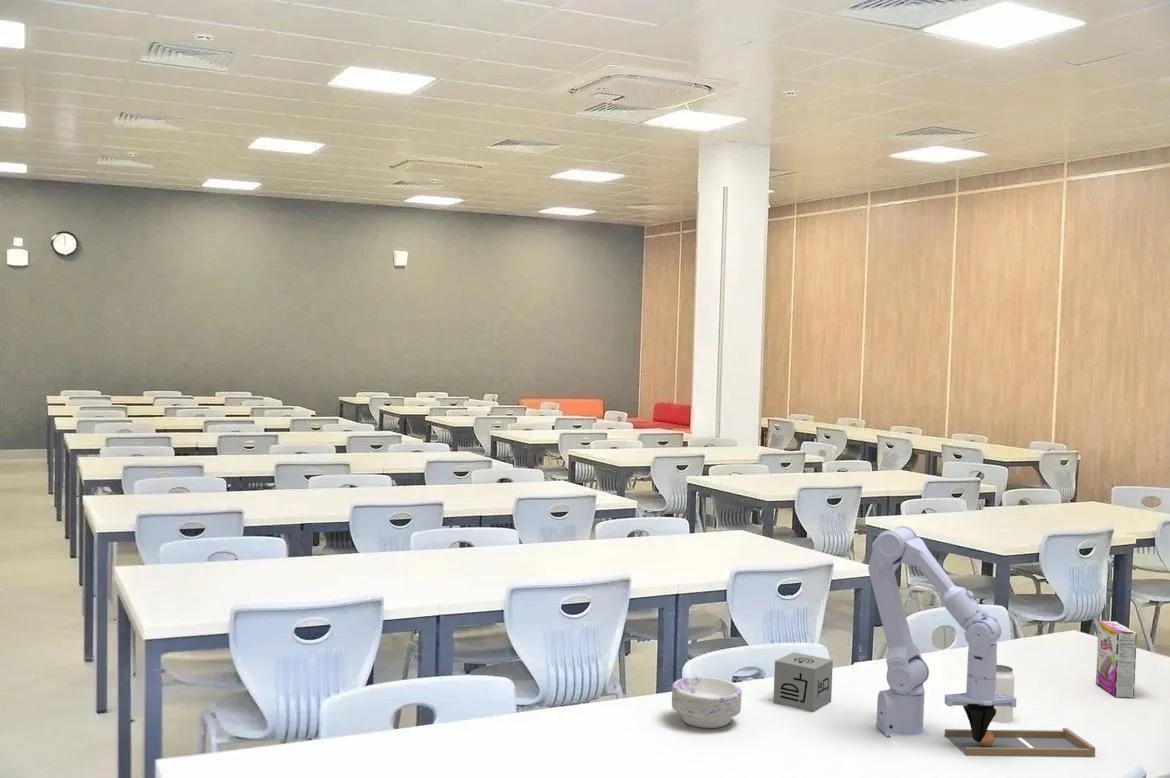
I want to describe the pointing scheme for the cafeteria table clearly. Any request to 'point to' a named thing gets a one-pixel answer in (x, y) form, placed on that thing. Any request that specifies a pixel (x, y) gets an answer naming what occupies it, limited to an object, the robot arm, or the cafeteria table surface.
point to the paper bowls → (706, 701)
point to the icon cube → (803, 681)
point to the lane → (1023, 743)
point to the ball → (987, 739)
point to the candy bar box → (1116, 659)
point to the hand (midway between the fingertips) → (978, 740)
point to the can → (1004, 693)
